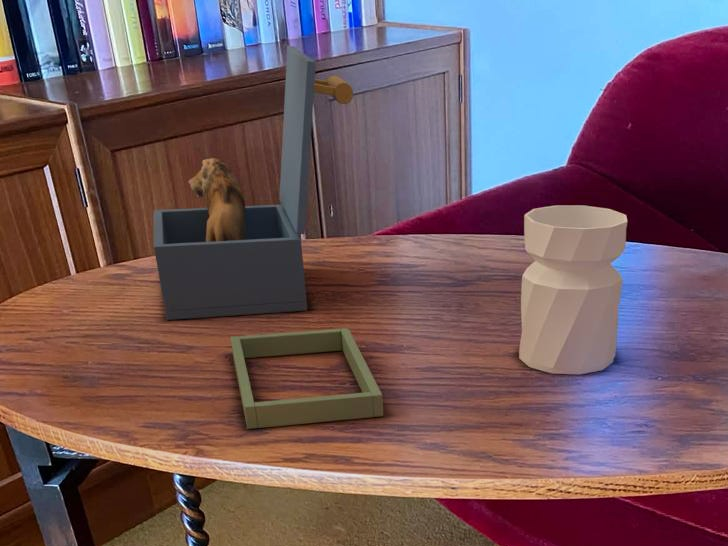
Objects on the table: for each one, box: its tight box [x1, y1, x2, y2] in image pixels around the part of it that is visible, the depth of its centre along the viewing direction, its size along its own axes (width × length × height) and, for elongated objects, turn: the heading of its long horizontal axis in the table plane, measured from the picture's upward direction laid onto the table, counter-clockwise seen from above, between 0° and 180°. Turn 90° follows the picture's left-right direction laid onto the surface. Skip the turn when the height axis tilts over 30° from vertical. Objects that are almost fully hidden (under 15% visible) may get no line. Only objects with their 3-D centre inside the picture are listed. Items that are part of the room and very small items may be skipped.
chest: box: [153, 204, 308, 321], centre depth 100 cm, size 14×16×7 cm
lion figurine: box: [188, 157, 246, 242], centre depth 99 cm, size 15×5×9 cm, turn 18°
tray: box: [229, 327, 384, 430], centre depth 81 cm, size 11×17×2 cm, turn 15°
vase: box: [518, 205, 628, 376], centre depth 84 cm, size 9×9×12 cm
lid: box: [279, 45, 354, 235], centre depth 96 cm, size 15×16×5 cm
